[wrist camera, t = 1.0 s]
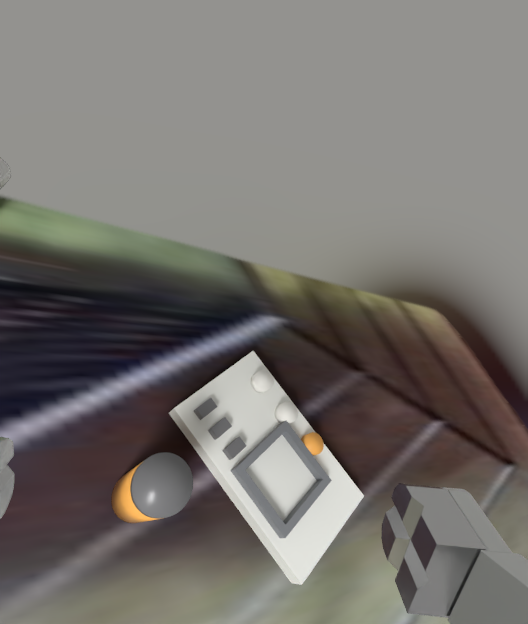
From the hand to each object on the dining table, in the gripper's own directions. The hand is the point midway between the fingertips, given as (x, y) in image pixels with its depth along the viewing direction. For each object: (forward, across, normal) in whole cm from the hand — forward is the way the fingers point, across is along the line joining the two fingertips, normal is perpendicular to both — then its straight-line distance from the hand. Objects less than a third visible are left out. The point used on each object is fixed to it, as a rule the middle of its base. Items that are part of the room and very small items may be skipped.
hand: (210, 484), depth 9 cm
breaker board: (+30, -7, +23) cm, 39 cm away
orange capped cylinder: (+23, +5, +24) cm, 34 cm away
